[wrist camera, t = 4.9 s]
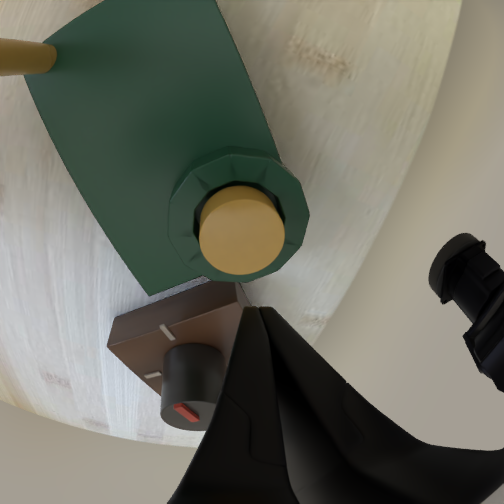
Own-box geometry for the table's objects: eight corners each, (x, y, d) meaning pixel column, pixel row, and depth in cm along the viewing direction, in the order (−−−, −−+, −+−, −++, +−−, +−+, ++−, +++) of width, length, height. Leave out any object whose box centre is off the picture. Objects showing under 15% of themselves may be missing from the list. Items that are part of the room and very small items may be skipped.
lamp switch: (286, 238, 15) (295, 256, 13) (218, 264, 15) (220, 286, 13) (261, 173, 13) (269, 185, 11) (186, 204, 13) (184, 221, 11)
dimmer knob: (235, 370, 21) (243, 426, 17) (183, 384, 21) (184, 438, 17) (208, 335, 18) (212, 399, 14) (151, 353, 19) (145, 413, 15)
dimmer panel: (271, 343, 24) (279, 373, 21) (169, 375, 25) (168, 404, 22) (231, 268, 19) (236, 299, 17) (111, 314, 20) (102, 345, 18)
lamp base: (300, 220, 18) (321, 253, 15) (155, 278, 19) (147, 320, 16) (201, -27, 10) (199, -58, 6) (37, 62, 10) (-2, 62, 7)
